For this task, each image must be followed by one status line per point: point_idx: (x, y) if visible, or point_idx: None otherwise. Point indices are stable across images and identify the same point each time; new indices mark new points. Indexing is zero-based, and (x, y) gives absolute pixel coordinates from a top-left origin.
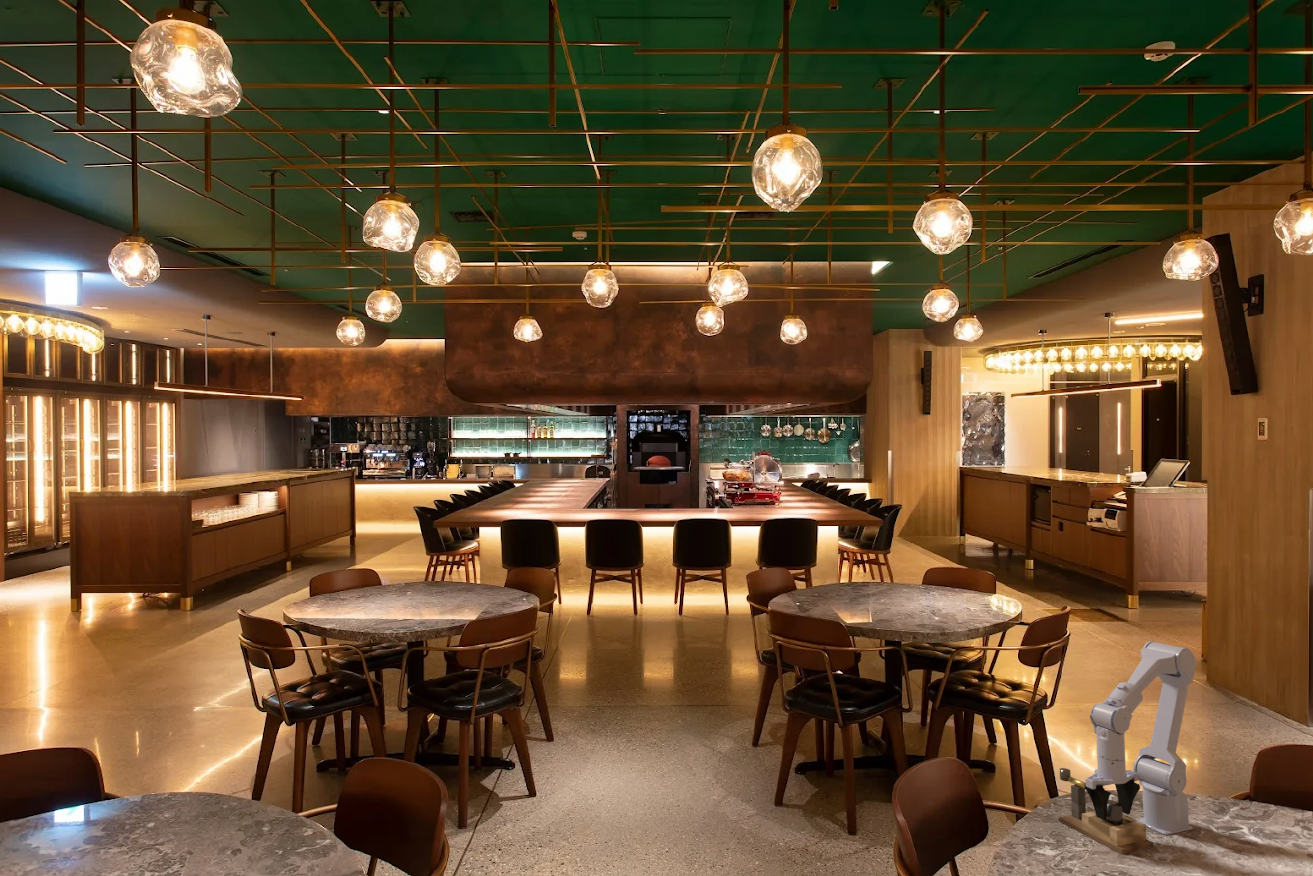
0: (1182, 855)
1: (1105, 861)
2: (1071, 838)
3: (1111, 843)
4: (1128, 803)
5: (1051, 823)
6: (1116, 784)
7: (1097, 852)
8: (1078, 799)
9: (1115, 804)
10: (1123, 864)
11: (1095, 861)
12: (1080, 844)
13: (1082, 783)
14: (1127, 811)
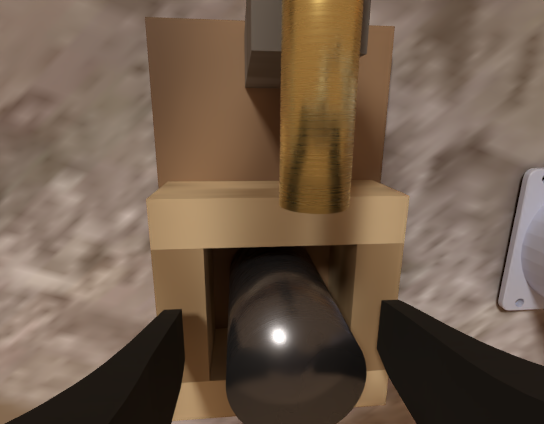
0: (395, 417)
1: (68, 386)
2: (77, 195)
3: None
4: (415, 411)
5: (100, 17)
6: (530, 421)
7: (95, 326)
8: (250, 71)
9: (304, 400)
10: None
11: (23, 377)
12: (75, 253)
13: (301, 80)
14: (385, 359)
